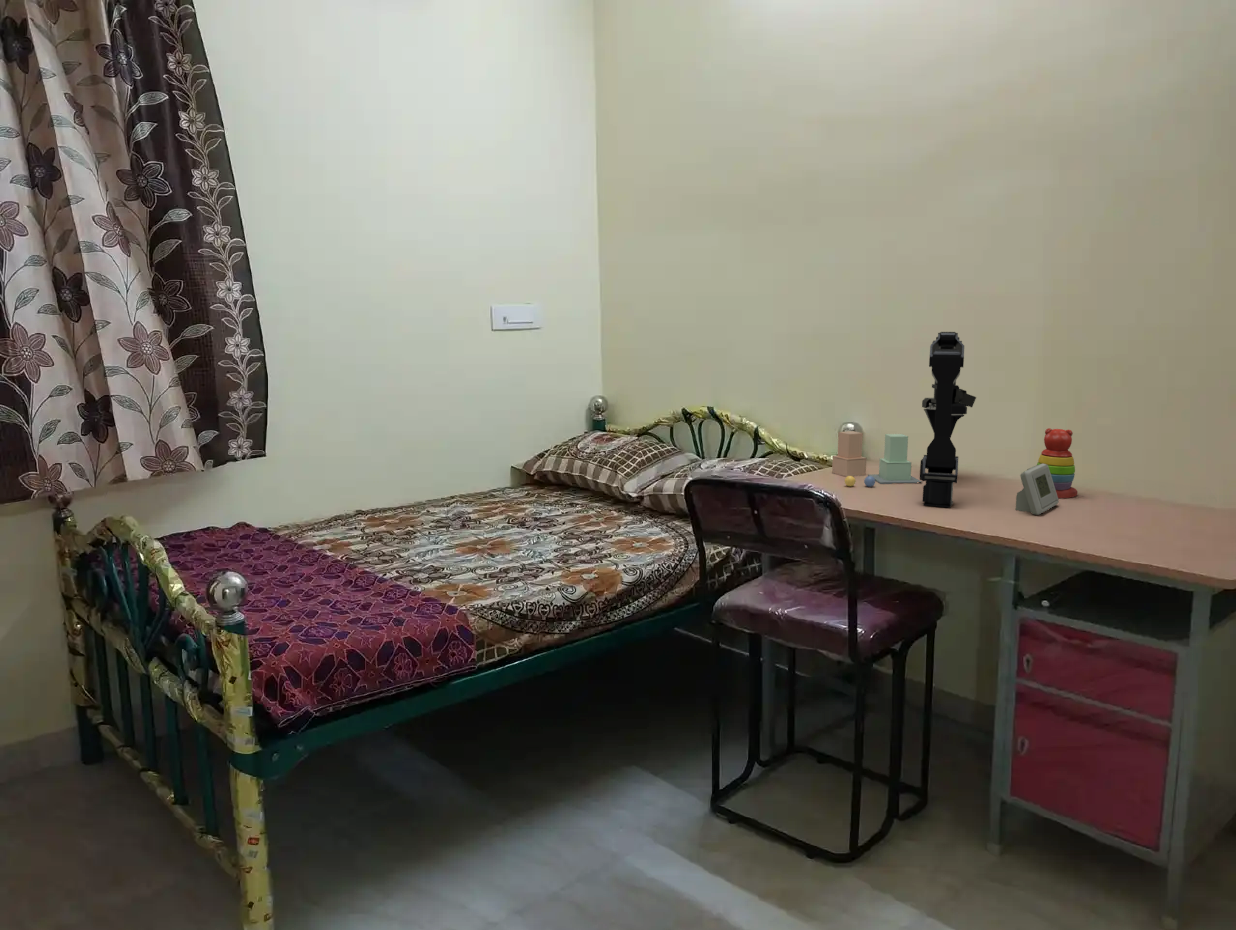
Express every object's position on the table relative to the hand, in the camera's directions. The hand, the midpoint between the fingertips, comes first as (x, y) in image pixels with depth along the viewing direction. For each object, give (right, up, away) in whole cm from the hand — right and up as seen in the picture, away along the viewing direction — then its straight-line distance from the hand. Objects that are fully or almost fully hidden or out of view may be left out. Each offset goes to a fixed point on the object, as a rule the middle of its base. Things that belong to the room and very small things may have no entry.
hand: (942, 436), depth 266 cm
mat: (-13, -13, +4) cm, 18 cm away
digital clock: (+11, -20, -35) cm, 42 cm away
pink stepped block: (-23, -11, +13) cm, 29 cm away
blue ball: (-22, -13, -8) cm, 27 cm away
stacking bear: (+23, -16, -18) cm, 34 cm away
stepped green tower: (-13, -12, +4) cm, 18 cm away
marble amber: (-29, -14, -7) cm, 32 cm away
